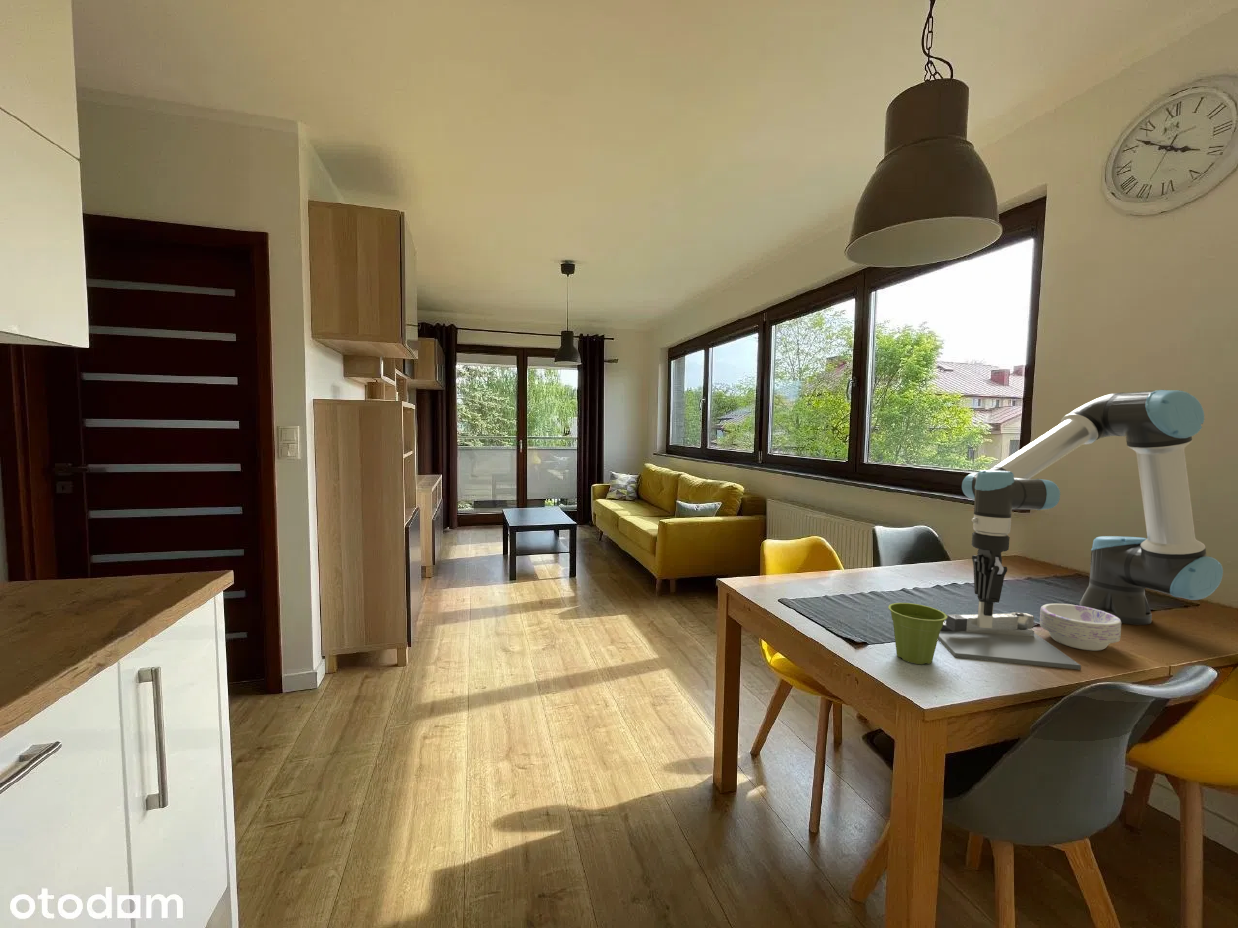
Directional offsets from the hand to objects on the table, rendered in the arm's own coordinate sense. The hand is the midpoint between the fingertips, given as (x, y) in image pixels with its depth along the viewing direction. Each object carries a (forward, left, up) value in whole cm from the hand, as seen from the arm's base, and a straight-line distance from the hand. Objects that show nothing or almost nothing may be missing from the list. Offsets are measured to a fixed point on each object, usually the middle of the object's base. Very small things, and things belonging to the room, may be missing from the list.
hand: (984, 626), depth 130 cm
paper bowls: (-23, -6, -4) cm, 24 cm away
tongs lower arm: (-2, -5, -3) cm, 7 cm away
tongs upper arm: (-3, -3, -1) cm, 4 cm away
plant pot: (+20, +14, -4) cm, 25 cm away
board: (-2, +1, -4) cm, 5 cm away
